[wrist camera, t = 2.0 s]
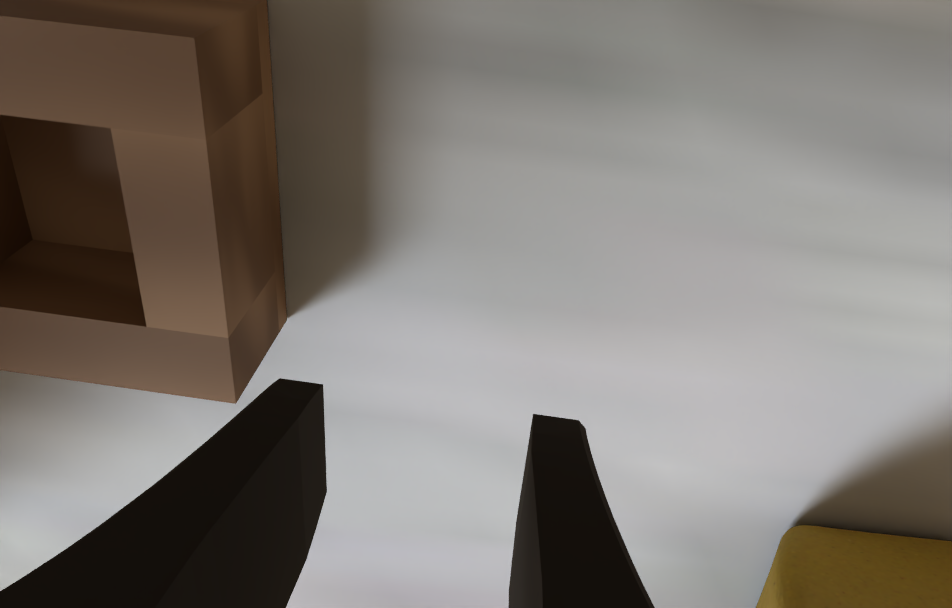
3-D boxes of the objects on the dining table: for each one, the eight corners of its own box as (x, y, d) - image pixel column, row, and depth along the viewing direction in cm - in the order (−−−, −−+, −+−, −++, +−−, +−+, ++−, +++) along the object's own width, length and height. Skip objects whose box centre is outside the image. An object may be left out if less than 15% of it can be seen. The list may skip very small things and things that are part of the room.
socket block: (286, 319, 20) (236, 403, 17) (-3, 280, 21) (-101, 355, 18) (267, -1, 16) (193, 37, 13) (-98, -41, 16) (-248, -13, 13)
